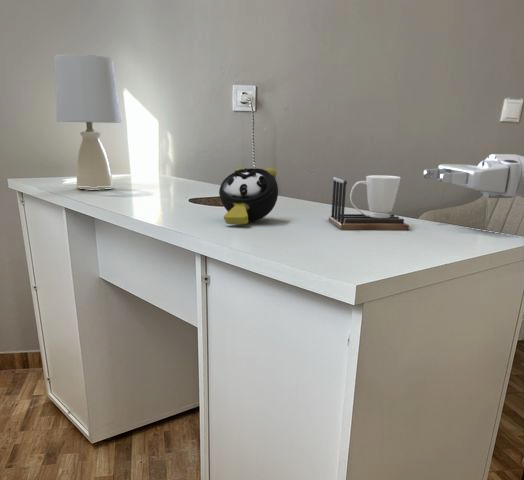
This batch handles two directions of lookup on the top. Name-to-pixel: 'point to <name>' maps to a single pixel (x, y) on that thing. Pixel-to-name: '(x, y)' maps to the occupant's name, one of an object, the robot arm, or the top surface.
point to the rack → (359, 215)
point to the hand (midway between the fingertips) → (432, 175)
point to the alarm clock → (248, 194)
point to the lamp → (87, 110)
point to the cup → (379, 194)
